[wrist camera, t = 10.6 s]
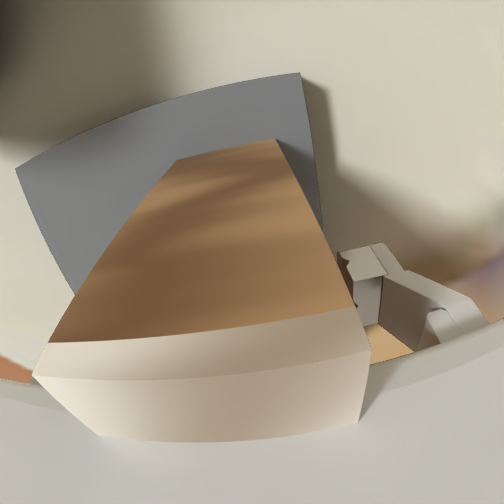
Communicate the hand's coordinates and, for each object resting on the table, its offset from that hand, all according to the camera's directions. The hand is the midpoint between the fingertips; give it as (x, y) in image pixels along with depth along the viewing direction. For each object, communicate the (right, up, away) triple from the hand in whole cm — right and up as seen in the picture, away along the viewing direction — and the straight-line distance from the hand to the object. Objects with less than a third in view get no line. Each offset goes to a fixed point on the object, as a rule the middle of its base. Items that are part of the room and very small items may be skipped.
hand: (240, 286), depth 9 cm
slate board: (-4, +2, +5) cm, 6 cm away
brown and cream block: (0, +2, +4) cm, 4 cm away
